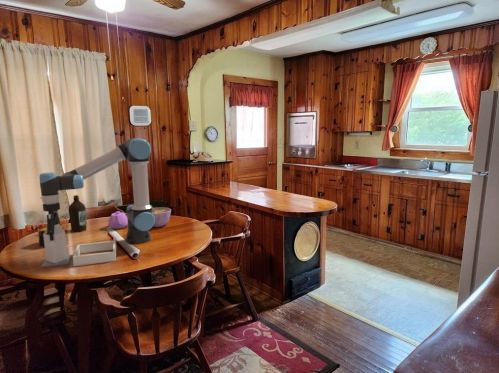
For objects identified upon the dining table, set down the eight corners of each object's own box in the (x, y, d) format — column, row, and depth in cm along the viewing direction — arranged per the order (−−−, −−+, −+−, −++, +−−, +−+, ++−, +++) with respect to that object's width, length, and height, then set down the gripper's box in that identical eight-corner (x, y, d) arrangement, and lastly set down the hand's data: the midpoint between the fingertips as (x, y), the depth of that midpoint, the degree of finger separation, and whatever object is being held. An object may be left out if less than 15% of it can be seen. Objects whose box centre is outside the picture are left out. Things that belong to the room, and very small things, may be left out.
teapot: (110, 224, 239) (109, 209, 238) (129, 223, 243) (128, 208, 241) (107, 232, 221) (105, 216, 219) (127, 230, 224) (126, 214, 223)
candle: (52, 247, 192) (51, 231, 190) (38, 246, 194) (36, 230, 192) (65, 241, 202) (64, 226, 200) (52, 240, 204) (50, 225, 202)
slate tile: (71, 256, 177) (71, 254, 177) (68, 264, 166) (68, 262, 166) (46, 259, 173) (46, 257, 173) (41, 267, 162) (41, 266, 162)
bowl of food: (142, 223, 242) (141, 208, 240) (168, 220, 250) (168, 206, 248) (145, 230, 224) (144, 214, 222) (174, 227, 232) (173, 211, 231)
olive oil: (66, 232, 221) (63, 196, 217) (77, 227, 231) (74, 194, 227) (80, 233, 219) (77, 197, 215) (90, 228, 230) (87, 194, 226)
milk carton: (67, 259, 171) (64, 224, 168) (54, 263, 165) (51, 228, 162) (59, 256, 174) (55, 223, 171) (46, 261, 168) (42, 226, 165)
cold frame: (116, 248, 189) (115, 237, 188) (115, 260, 171) (114, 248, 170) (78, 253, 182) (77, 241, 181) (73, 266, 164) (72, 253, 163)
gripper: (47, 198, 175) (52, 236, 178) (36, 208, 152) (41, 251, 155) (63, 197, 177) (67, 234, 181) (54, 207, 154) (59, 248, 158)
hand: (55, 242), depth 168 cm, fingers open, 13 cm apart
